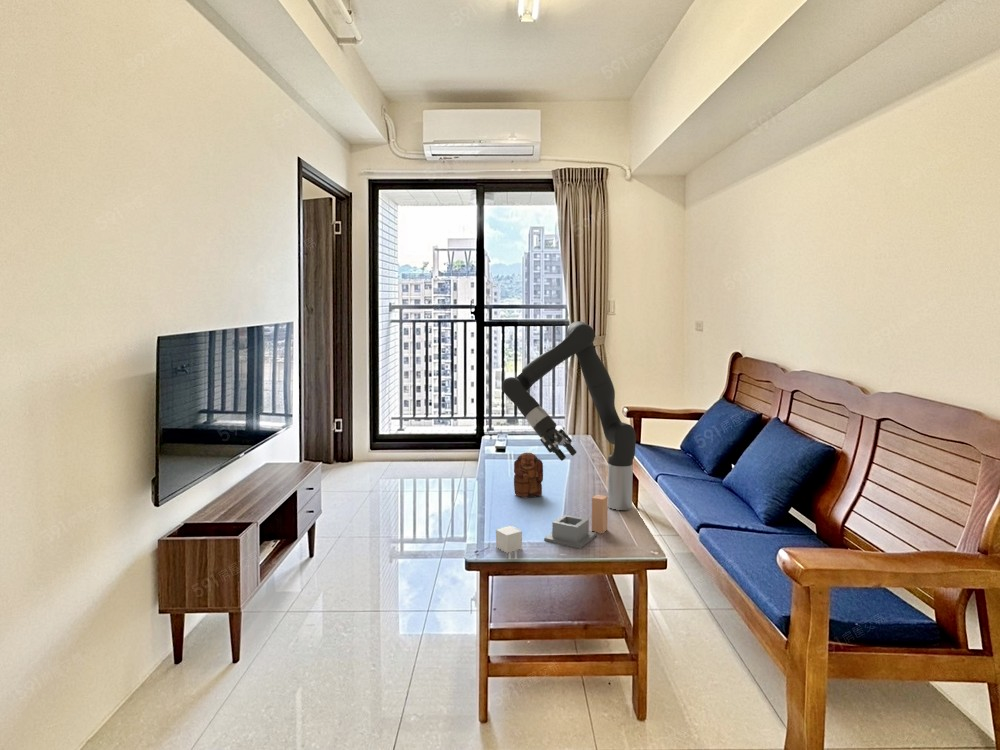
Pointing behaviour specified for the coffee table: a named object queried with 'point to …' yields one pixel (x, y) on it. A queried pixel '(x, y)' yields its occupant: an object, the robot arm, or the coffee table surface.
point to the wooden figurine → (528, 475)
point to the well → (570, 531)
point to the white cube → (508, 539)
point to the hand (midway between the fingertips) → (569, 456)
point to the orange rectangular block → (599, 513)
